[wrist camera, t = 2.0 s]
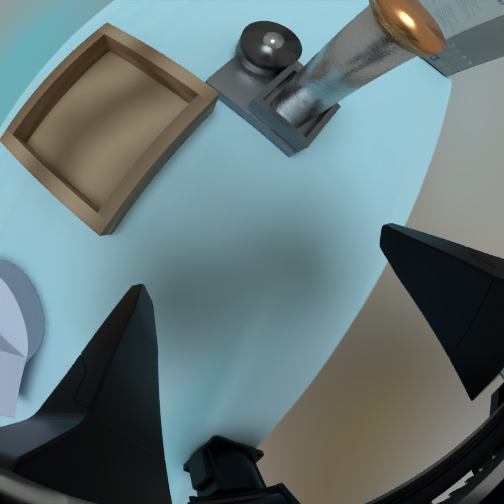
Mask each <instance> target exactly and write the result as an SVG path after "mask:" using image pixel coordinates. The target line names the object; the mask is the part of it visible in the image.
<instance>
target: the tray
mask: <svg viewBox="0 0 504 504" xmlns="http://www.w3.org/2000/svg"><path fill="white" fill-rule="evenodd" d="M219 94H220V93H219V92H217V91H216V90H215V89H213V88H212V87H210V86H209V85H208V84H206V83H205V82H204V81H202V80H201V79H199V78H198V77H196V76H195V75H194V74H192V73H191V72H189V71H188V70H186V69H185V68H183V67H182V66H180V65H179V64H177V63H176V62H174V61H173V60H171V59H170V58H168V57H166V56H165V55H163V54H162V53H160V52H158V51H157V50H155V49H154V48H152V47H150V46H149V45H147V44H145V43H144V42H142V41H140V40H138V39H137V38H135V37H133V36H131V35H130V34H128V33H126V32H124V31H122V30H120V29H118V28H117V27H115V26H113V25H111V24H109V23H106V24H104V25H103V26H102V27H100V28H99V29H98V30H97V31H95V32H94V33H93V34H92V35H91V36H89V37H88V38H87V39H86V40H85V41H84V42H82V43H81V44H80V45H79V46H78V47H77V48H76V49H75V50H74V51H73V52H71V53H70V54H69V55H68V56H67V57H66V58H65V59H64V60H63V61H62V62H61V63H60V64H59V65H58V66H57V67H56V68H55V69H54V70H53V71H52V73H51V74H50V75H49V76H48V77H47V78H46V79H45V80H44V81H43V82H42V84H41V85H40V86H39V87H38V88H37V89H36V91H35V92H34V93H33V94H32V95H31V97H30V98H29V99H28V100H27V102H26V103H25V104H24V106H23V107H22V108H21V109H20V111H19V112H18V114H17V115H16V116H15V118H14V119H13V120H12V122H11V123H10V125H9V126H8V128H7V129H6V131H5V132H4V134H3V135H2V137H1V138H0V141H1V143H2V144H3V145H4V146H5V147H6V148H7V149H8V150H9V151H10V152H11V153H12V154H13V156H14V157H15V158H16V159H17V160H18V161H19V162H20V163H21V164H22V165H23V166H24V167H25V168H26V169H27V170H28V171H29V172H30V173H31V174H32V175H33V176H34V177H35V178H36V179H37V180H38V181H39V182H40V183H41V184H42V185H43V186H44V187H45V188H46V189H47V190H49V191H50V192H51V193H52V194H53V195H54V196H55V197H56V198H57V199H58V200H59V201H60V202H61V203H63V204H64V205H65V206H66V207H67V208H68V209H69V210H70V211H71V212H73V213H74V214H75V215H76V216H77V217H78V218H79V219H81V220H82V221H83V222H84V223H85V224H86V225H88V226H89V227H90V228H91V229H92V230H93V231H95V232H96V233H97V234H98V235H99V236H102V235H108V234H112V233H113V231H114V230H115V228H116V227H117V226H118V224H119V223H120V221H121V220H122V218H123V217H124V216H125V214H126V213H127V211H128V210H129V209H130V207H131V206H132V205H133V203H134V202H135V201H136V199H137V198H138V197H139V195H140V194H141V193H142V191H143V190H144V189H145V188H146V186H147V185H148V184H149V183H150V181H151V180H152V179H153V178H154V176H155V175H156V174H157V173H158V171H159V170H160V169H161V168H162V167H163V165H164V164H165V163H166V162H167V161H168V160H169V158H170V157H171V156H172V155H173V154H174V153H175V151H176V150H177V149H178V148H179V147H180V146H181V145H182V144H183V142H184V141H185V140H186V139H187V138H188V137H189V136H190V135H191V134H192V133H193V132H194V130H195V129H196V128H197V127H198V126H199V125H200V124H201V123H202V122H203V121H204V120H205V119H206V118H207V117H208V116H209V115H210V114H211V113H212V112H213V110H214V107H215V105H216V102H217V100H218V97H219Z"/></svg>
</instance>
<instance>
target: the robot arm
mask: <svg viewBox="0 0 504 504" xmlns="http://www.w3.org/2000/svg"><path fill="white" fill-rule="evenodd" d="M380 248H381V250H382V252H383V253H384V255H385V257H386V258H387V260H388V262H389V263H390V265H391V267H392V268H393V270H394V272H395V274H396V275H397V277H398V278H399V280H400V281H401V283H402V284H403V286H404V287H405V288H406V290H407V291H408V293H409V294H410V296H411V297H412V299H413V300H414V302H415V303H416V305H417V306H418V308H419V309H420V311H421V312H422V314H423V315H424V317H425V319H426V320H427V322H428V323H429V325H430V327H431V328H432V330H433V331H434V333H435V335H436V336H437V338H438V340H439V341H440V343H441V345H442V347H443V348H444V350H445V352H446V353H447V355H448V357H449V358H450V361H451V363H452V365H453V366H454V368H455V370H456V372H457V374H458V376H459V378H460V379H461V382H462V384H463V385H464V387H465V389H466V392H467V393H468V396H469V398H470V399H471V401H473V400H474V399H475V398H476V397H477V396H478V395H480V394H481V393H482V392H483V391H484V390H485V389H486V388H487V387H488V386H489V385H490V384H491V383H492V382H493V381H494V380H495V379H496V378H497V377H498V376H499V375H501V377H502V378H503V379H504V259H502V258H499V257H496V256H493V255H489V254H487V253H484V252H481V251H478V250H475V249H472V248H469V247H465V246H463V245H460V244H458V243H455V242H451V241H449V240H445V239H442V238H439V237H436V236H433V235H430V234H427V233H424V232H420V231H417V230H414V229H410V228H407V227H404V226H400V225H397V224H393V223H389V224H385V225H383V226H382V229H381V236H380ZM217 440H218V441H217ZM263 455H264V453H263V451H261V450H258V449H255V448H251V447H248V446H245V445H242V444H239V443H236V442H233V441H230V440H227V439H224V438H222V437H218V436H215V437H213V438H212V439H211V440H210V441H209V442H208V443H207V444H206V445H205V446H204V447H203V448H202V449H200V450H199V451H198V452H197V453H196V454H195V455H194V456H193V457H192V458H191V459H190V460H189V461H188V462H187V463H186V464H185V465H184V466H183V468H184V471H186V472H189V473H190V476H191V482H192V487H193V489H194V490H197V495H198V497H195V496H189V500H190V502H188V503H187V504H300V503H299V502H298V501H297V499H296V498H295V497H294V496H293V495H292V494H291V493H290V491H289V490H288V489H287V488H286V487H285V485H284V484H283V483H280V484H277V485H274V486H270V487H266V485H265V483H264V480H263V478H262V476H261V474H260V472H259V470H258V467H257V465H256V462H257V461H258V460H260V459H261V458H262V457H263ZM470 470H472V472H473V474H474V476H472V477H470V478H468V479H467V480H466V481H465V482H464V483H465V484H466V485H464V486H463V487H461V488H459V489H457V490H455V491H453V492H451V493H450V494H449V497H450V498H447V499H445V500H444V501H442V502H440V503H438V504H504V383H503V384H502V385H501V386H500V387H499V388H498V389H497V390H496V391H495V392H494V393H493V394H492V395H491V407H490V416H489V418H488V419H487V420H486V421H485V422H484V423H483V424H482V425H481V426H480V427H479V428H477V429H476V430H475V431H474V432H473V433H472V434H471V435H470V436H468V437H467V438H466V439H465V440H464V441H463V442H461V443H460V444H459V445H458V446H457V447H455V448H454V449H453V450H452V451H450V452H449V453H448V454H446V455H445V456H444V457H442V458H441V459H440V460H438V461H437V462H436V463H434V464H433V465H431V466H430V467H428V468H427V469H426V470H424V471H423V472H421V473H419V474H418V475H416V476H415V477H413V478H412V479H410V480H408V481H407V482H405V483H403V484H402V485H400V486H398V487H396V488H395V489H393V490H391V491H389V492H388V493H386V494H383V495H382V496H380V497H378V498H376V499H374V500H372V501H370V502H367V503H365V504H433V503H432V500H434V499H435V498H436V497H438V496H439V495H441V494H442V493H443V492H445V491H446V490H447V489H449V488H450V487H451V486H453V485H454V484H455V483H456V482H458V481H459V480H460V479H461V478H462V477H464V476H465V475H466V474H467V473H468V472H469V471H470ZM0 504H172V500H171V495H170V489H169V483H168V476H167V470H166V462H165V455H164V447H163V437H162V427H161V415H160V400H159V379H158V344H157V335H156V326H155V317H154V307H153V303H152V300H151V298H150V296H149V294H148V292H147V290H146V287H145V286H144V284H138V285H134V286H132V287H131V288H130V289H129V290H128V291H127V293H126V294H125V295H124V296H123V298H122V299H121V300H120V302H119V303H118V304H117V305H116V307H115V308H114V309H113V311H112V312H111V313H110V314H109V316H108V317H107V318H106V320H105V321H104V322H103V324H102V325H101V326H100V328H99V329H98V330H97V332H96V333H95V334H94V336H93V337H92V339H91V340H90V341H89V343H88V344H87V346H86V347H85V348H84V350H83V351H82V353H81V355H79V357H78V358H77V360H76V361H75V363H74V364H73V365H72V367H71V368H70V369H69V371H68V372H67V374H66V375H65V376H64V378H63V379H62V380H61V382H60V383H59V384H58V385H57V387H56V388H55V389H54V390H53V392H52V393H51V394H50V396H49V397H48V398H47V400H46V401H45V402H44V403H43V405H42V406H41V407H40V409H39V410H38V411H37V412H36V413H35V414H34V415H33V416H31V417H30V418H28V419H26V420H24V421H21V422H17V423H14V424H10V425H7V426H3V427H0Z"/></svg>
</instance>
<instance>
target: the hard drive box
mask: <svg viewBox="0 0 504 504" xmlns="http://www.w3.org/2000/svg"><path fill="white" fill-rule="evenodd" d="M418 1H419V2H420V3H421V4H422V5H423V6H424V7H425V8H426V9H427V11H428V12H429V13H430V14H431V15H432V17H433V18H434V19H435V21H436V22H437V24H438V25H439V27H440V29H441V31H442V33H443V35H444V38H445V42H446V47H445V49H444V50H443V51H441V52H438V53H436V54H434V55H432V56H430V57H428V58H424V59H425V60H427V61H428V62H429V63H430V64H432V65H433V66H434V67H435V68H437V69H438V70H439V71H440V72H441V73H443V74H444V75H445V76H446V77H447V76H450V75H452V74H455V73H457V72H460V71H463V70H465V69H468V68H471V67H474V66H476V65H479V64H482V63H485V62H488V61H491V60H494V59H497V58H500V57H503V56H504V0H418Z"/></svg>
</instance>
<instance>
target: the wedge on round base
mask: <svg viewBox="0 0 504 504" xmlns="http://www.w3.org/2000/svg"><path fill="white" fill-rule="evenodd" d="M43 337H44V316H43V311H42V307H41V303H40V300H39V298H38V295H37V293H36V291H35V289H34V287H33V285H32V284H31V282H30V280H29V279H28V278H27V276H26V275H25V274H24V273H23V272H22V271H21V270H20V269H19V268H18V267H17V266H15V265H14V264H12V263H10V262H8V261H4V260H0V416H5V417H10V418H14V417H15V410H16V404H17V398H18V393H19V388H20V383H21V378H22V374H23V370H24V366H25V364H26V362H27V361H28V360H29V359H30V358H31V357H32V356H33V355H34V354H35V353H36V352H37V350H38V349H39V347H40V346H41V343H42V340H43Z"/></svg>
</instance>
